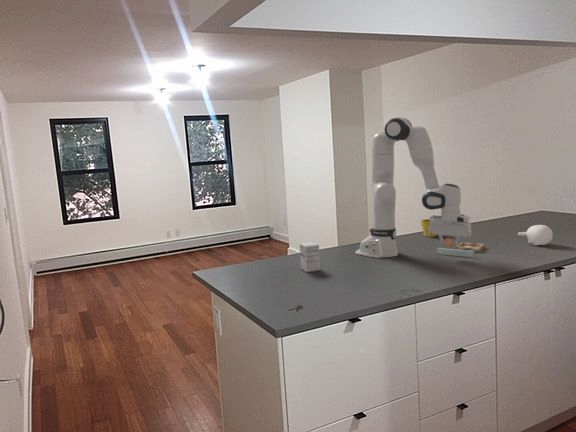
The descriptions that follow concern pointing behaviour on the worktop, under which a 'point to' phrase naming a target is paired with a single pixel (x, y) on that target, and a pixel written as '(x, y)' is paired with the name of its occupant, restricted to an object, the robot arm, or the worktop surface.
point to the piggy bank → (538, 234)
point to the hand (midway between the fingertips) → (449, 244)
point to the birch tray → (470, 247)
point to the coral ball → (448, 242)
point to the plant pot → (426, 228)
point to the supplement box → (309, 256)
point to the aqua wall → (455, 252)
